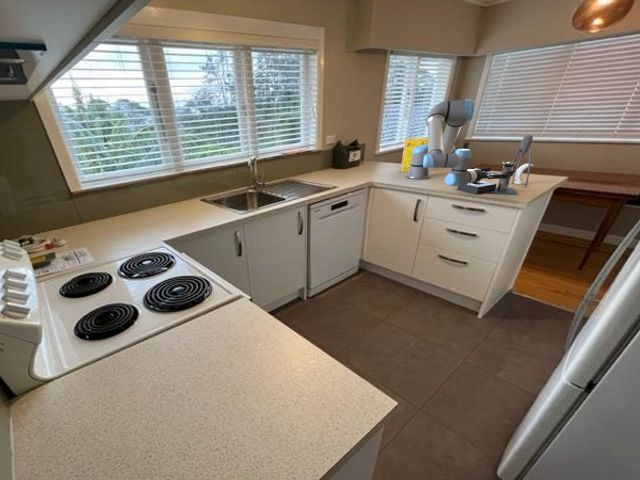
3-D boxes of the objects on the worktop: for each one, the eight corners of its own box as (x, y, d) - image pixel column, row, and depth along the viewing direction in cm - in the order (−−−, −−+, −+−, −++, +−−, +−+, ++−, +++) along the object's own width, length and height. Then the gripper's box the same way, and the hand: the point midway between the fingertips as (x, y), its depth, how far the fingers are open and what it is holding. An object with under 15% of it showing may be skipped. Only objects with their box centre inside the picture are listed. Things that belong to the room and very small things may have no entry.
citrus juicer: (526, 187, 182) (543, 135, 169) (509, 188, 182) (524, 136, 169) (512, 183, 192) (527, 133, 179) (496, 184, 192) (510, 135, 179)
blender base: (474, 186, 192) (475, 179, 190) (494, 191, 180) (496, 183, 178) (456, 189, 190) (458, 182, 188) (476, 194, 177) (478, 187, 176)
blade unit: (494, 188, 183) (501, 160, 175) (507, 189, 180) (515, 160, 173) (496, 191, 178) (504, 162, 170) (509, 191, 175) (518, 162, 168)
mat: (487, 188, 187) (487, 187, 187) (511, 188, 182) (511, 187, 182) (491, 193, 176) (491, 192, 176) (516, 194, 171) (517, 193, 171)
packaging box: (404, 168, 262) (408, 137, 251) (425, 168, 253) (430, 137, 242) (400, 171, 250) (404, 140, 239) (422, 172, 241) (427, 139, 230)
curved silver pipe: (527, 184, 188) (533, 164, 183) (516, 184, 189) (522, 165, 184) (523, 182, 192) (528, 163, 187) (512, 182, 193) (518, 163, 188)
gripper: (451, 179, 181) (479, 174, 185) (490, 187, 159) (521, 181, 164) (454, 166, 178) (482, 162, 182) (494, 173, 156) (525, 168, 160)
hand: (500, 171), depth 173 cm, fingers open, 13 cm apart
